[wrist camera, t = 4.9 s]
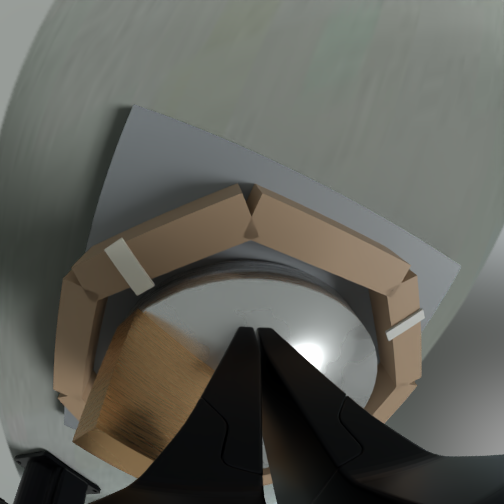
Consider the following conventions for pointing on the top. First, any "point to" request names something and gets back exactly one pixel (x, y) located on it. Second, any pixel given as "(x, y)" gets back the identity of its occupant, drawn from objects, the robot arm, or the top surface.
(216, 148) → the dial plate
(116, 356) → the dial
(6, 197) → the top surface
